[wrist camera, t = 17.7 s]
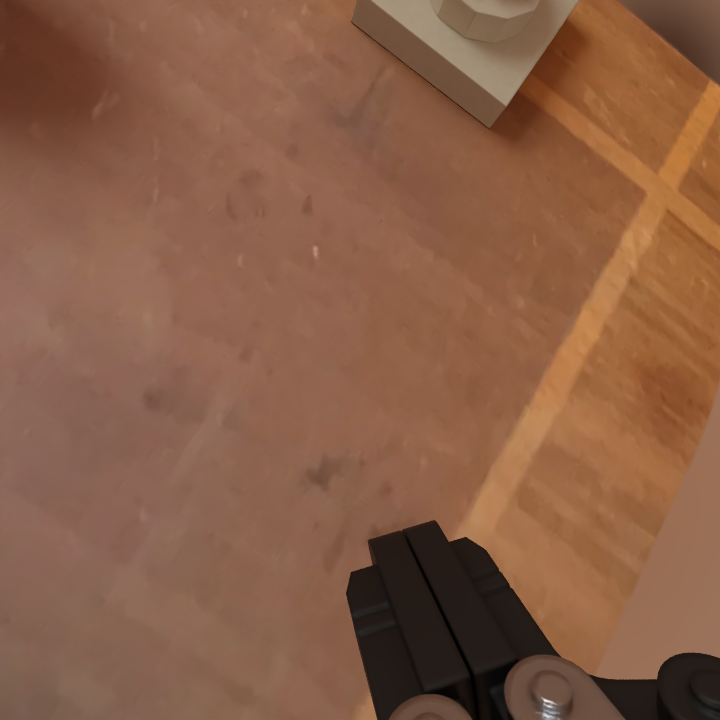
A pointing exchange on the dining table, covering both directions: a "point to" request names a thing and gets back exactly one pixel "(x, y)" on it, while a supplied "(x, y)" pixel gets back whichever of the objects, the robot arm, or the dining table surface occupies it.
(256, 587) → the dining table surface
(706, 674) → the robot arm
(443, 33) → the control block
